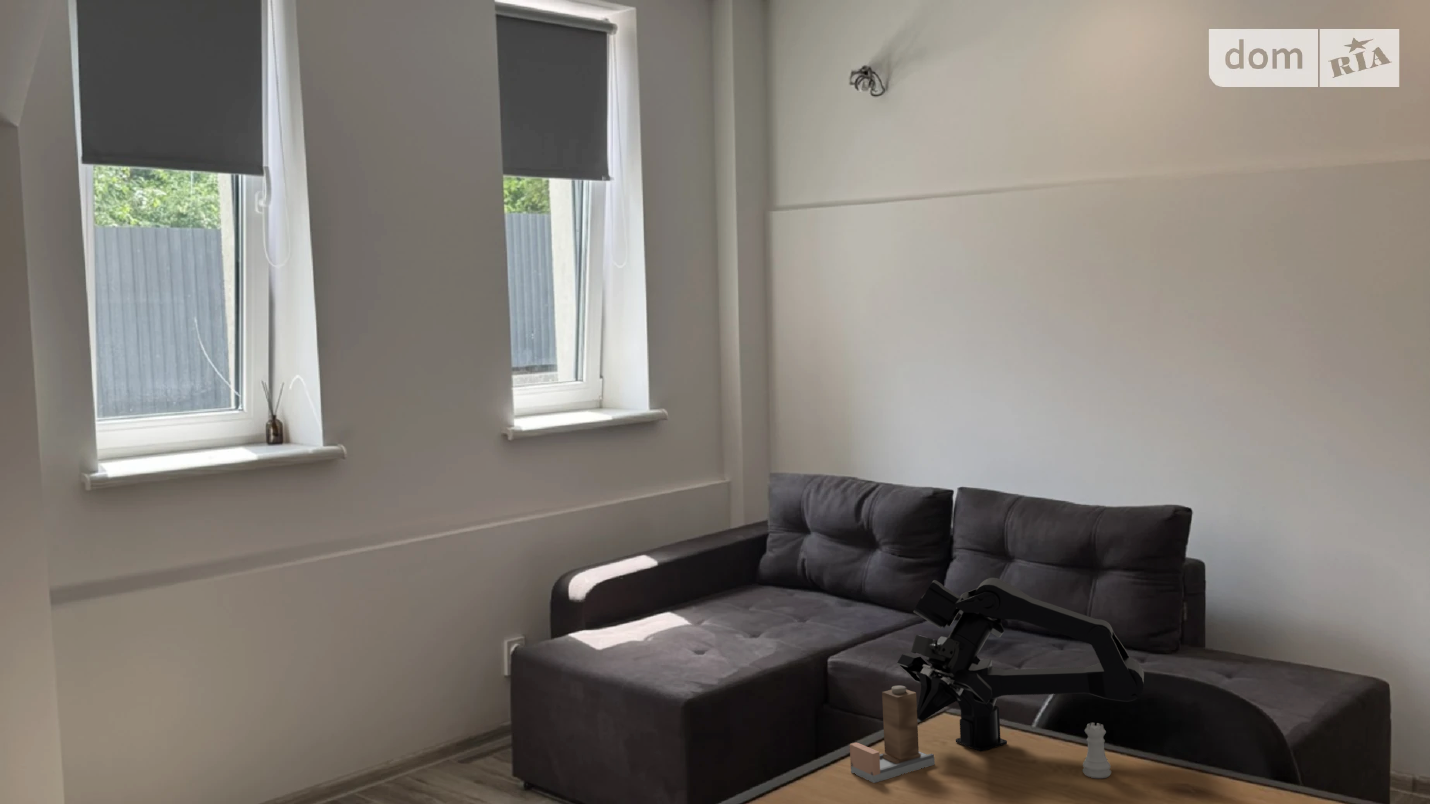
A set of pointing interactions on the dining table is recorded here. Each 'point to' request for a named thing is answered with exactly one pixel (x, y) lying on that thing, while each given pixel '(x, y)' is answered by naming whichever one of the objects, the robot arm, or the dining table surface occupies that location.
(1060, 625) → the robot arm
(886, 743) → the slider block with knob
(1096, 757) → the rook chess piece
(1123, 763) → the dining table surface
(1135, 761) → the dining table surface
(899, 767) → the rail
